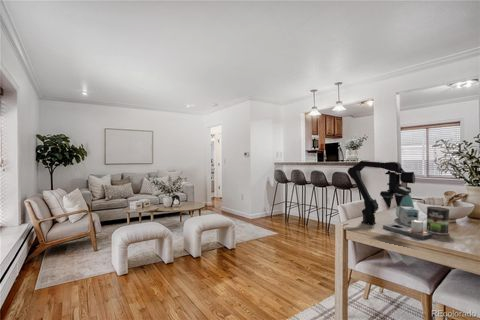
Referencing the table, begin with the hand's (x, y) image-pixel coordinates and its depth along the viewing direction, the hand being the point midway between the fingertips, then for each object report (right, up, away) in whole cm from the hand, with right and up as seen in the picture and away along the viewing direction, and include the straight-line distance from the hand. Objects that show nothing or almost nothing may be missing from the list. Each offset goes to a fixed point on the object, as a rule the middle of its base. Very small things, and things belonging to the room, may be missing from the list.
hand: (393, 207), depth 150 cm
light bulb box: (+16, -13, +9) cm, 22 cm away
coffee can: (+21, -14, -7) cm, 26 cm away
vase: (+21, -13, +21) cm, 32 cm away
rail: (+2, -13, -9) cm, 16 cm away
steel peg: (+4, -13, -14) cm, 20 cm away
